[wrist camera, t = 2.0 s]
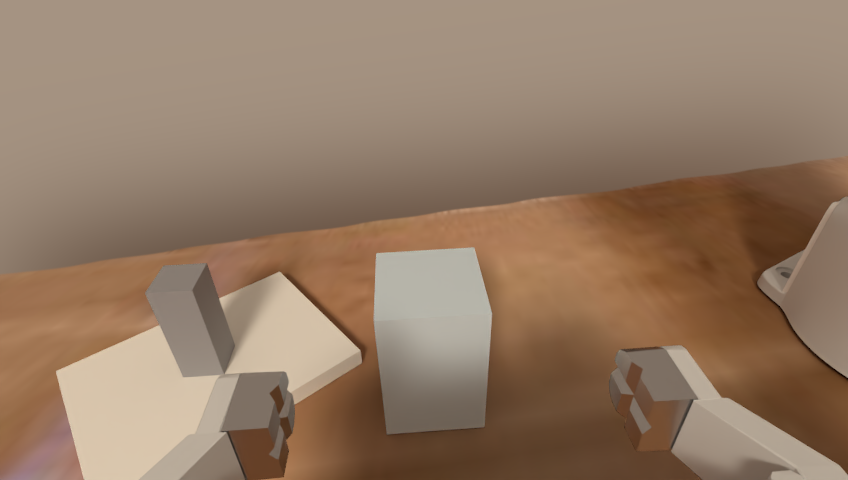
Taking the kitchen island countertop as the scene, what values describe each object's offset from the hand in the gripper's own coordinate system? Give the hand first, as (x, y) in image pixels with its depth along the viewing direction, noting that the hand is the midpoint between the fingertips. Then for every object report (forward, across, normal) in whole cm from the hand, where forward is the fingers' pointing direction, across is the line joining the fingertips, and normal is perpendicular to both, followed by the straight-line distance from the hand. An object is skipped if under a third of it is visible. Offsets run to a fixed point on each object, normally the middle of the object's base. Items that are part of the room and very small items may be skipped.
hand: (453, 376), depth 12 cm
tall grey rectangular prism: (+12, 0, +16) cm, 20 cm away
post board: (+15, +14, +16) cm, 26 cm away
